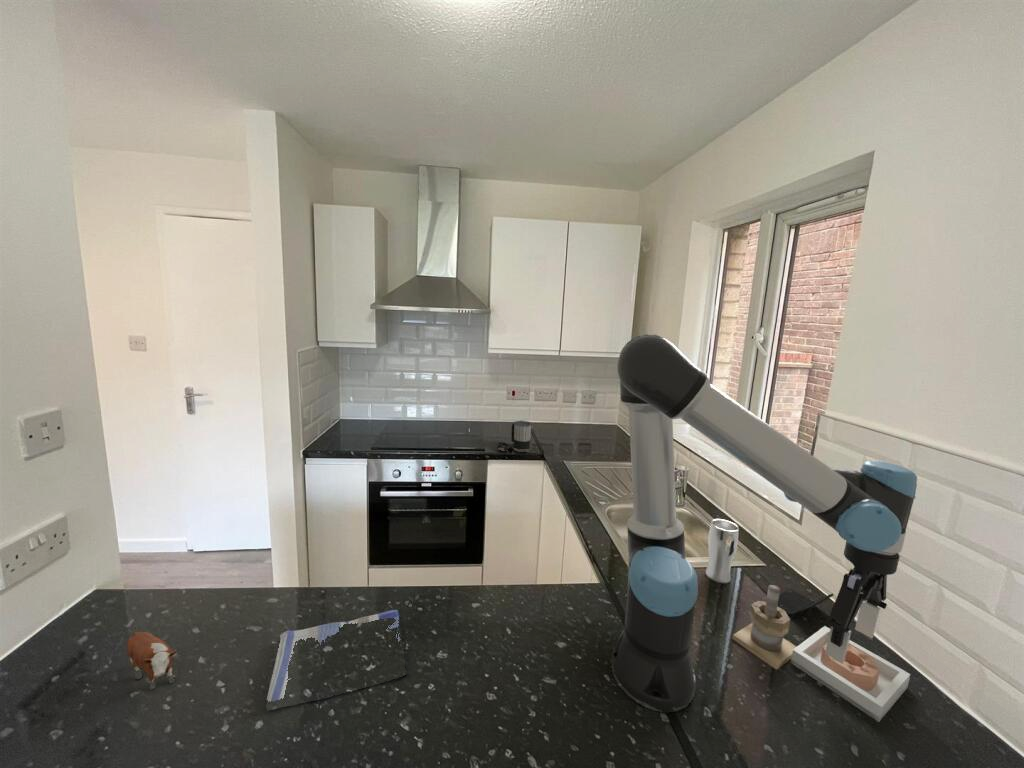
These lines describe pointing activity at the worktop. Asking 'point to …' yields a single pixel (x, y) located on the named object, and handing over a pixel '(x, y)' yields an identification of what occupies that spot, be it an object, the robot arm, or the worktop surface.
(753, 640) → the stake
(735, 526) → the silver metal tumbler
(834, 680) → the tray
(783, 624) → the oak ring
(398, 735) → the worktop surface
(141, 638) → the bull figurine
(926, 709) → the worktop surface
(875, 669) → the terracotta ring
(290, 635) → the dish towel
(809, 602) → the handheld gaming console
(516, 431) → the milk frother
